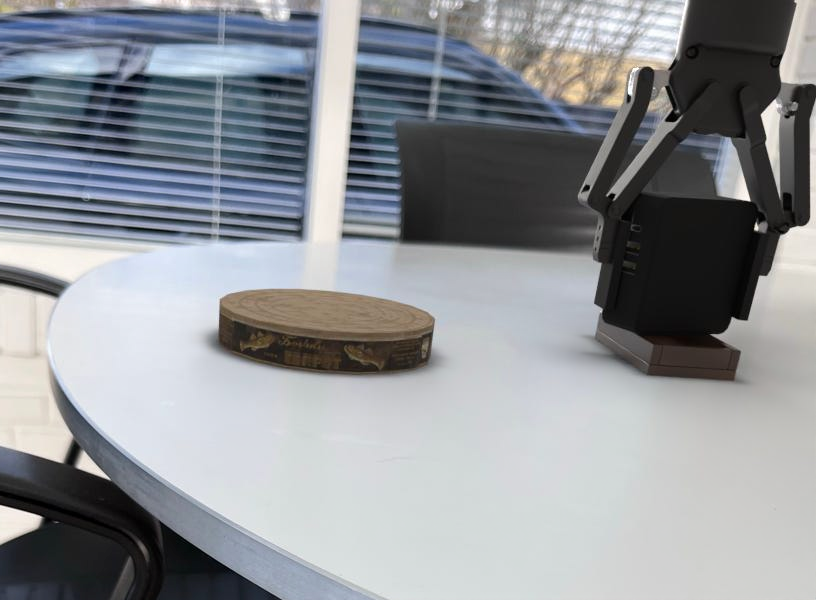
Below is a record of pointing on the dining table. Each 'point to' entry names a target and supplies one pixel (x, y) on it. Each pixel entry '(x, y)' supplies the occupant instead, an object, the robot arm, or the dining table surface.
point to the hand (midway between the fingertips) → (670, 312)
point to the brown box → (672, 353)
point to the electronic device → (682, 263)
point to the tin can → (325, 331)
